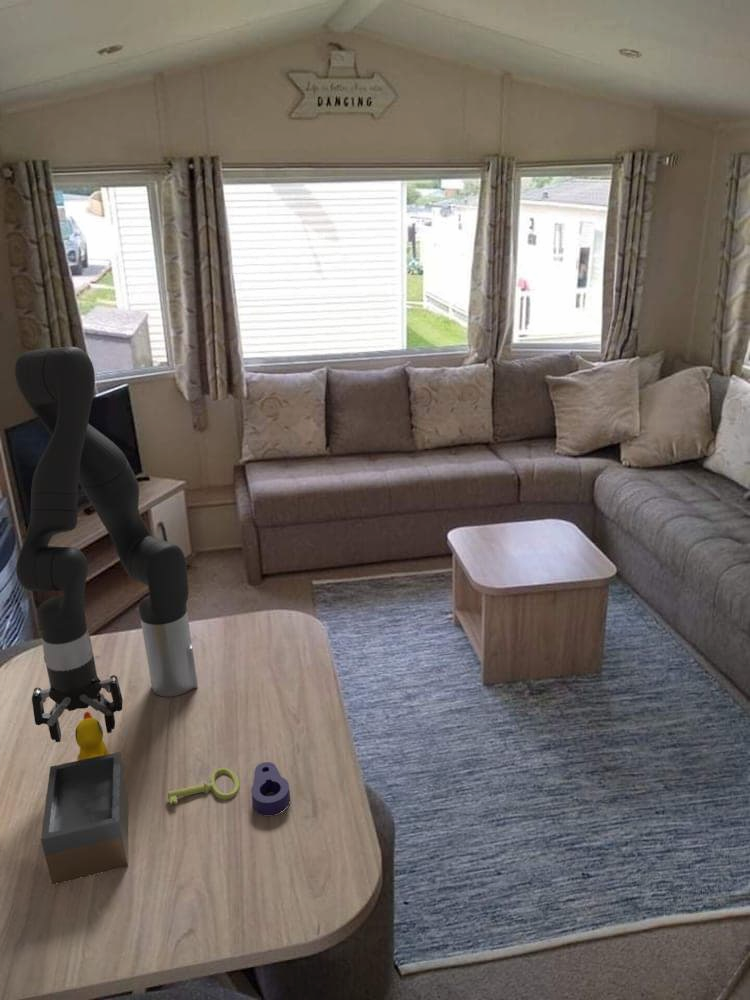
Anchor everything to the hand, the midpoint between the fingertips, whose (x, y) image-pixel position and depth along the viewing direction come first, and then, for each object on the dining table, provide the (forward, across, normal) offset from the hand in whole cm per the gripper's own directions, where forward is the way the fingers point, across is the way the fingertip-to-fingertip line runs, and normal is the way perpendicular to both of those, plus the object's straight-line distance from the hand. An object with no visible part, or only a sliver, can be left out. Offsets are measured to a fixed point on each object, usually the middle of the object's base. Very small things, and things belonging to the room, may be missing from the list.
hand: (84, 734), depth 135 cm
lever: (+8, -30, +14) cm, 34 cm away
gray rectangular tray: (+8, -1, +16) cm, 18 cm away
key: (+8, -20, +11) cm, 24 cm away
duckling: (+8, -1, 0) cm, 8 cm away
